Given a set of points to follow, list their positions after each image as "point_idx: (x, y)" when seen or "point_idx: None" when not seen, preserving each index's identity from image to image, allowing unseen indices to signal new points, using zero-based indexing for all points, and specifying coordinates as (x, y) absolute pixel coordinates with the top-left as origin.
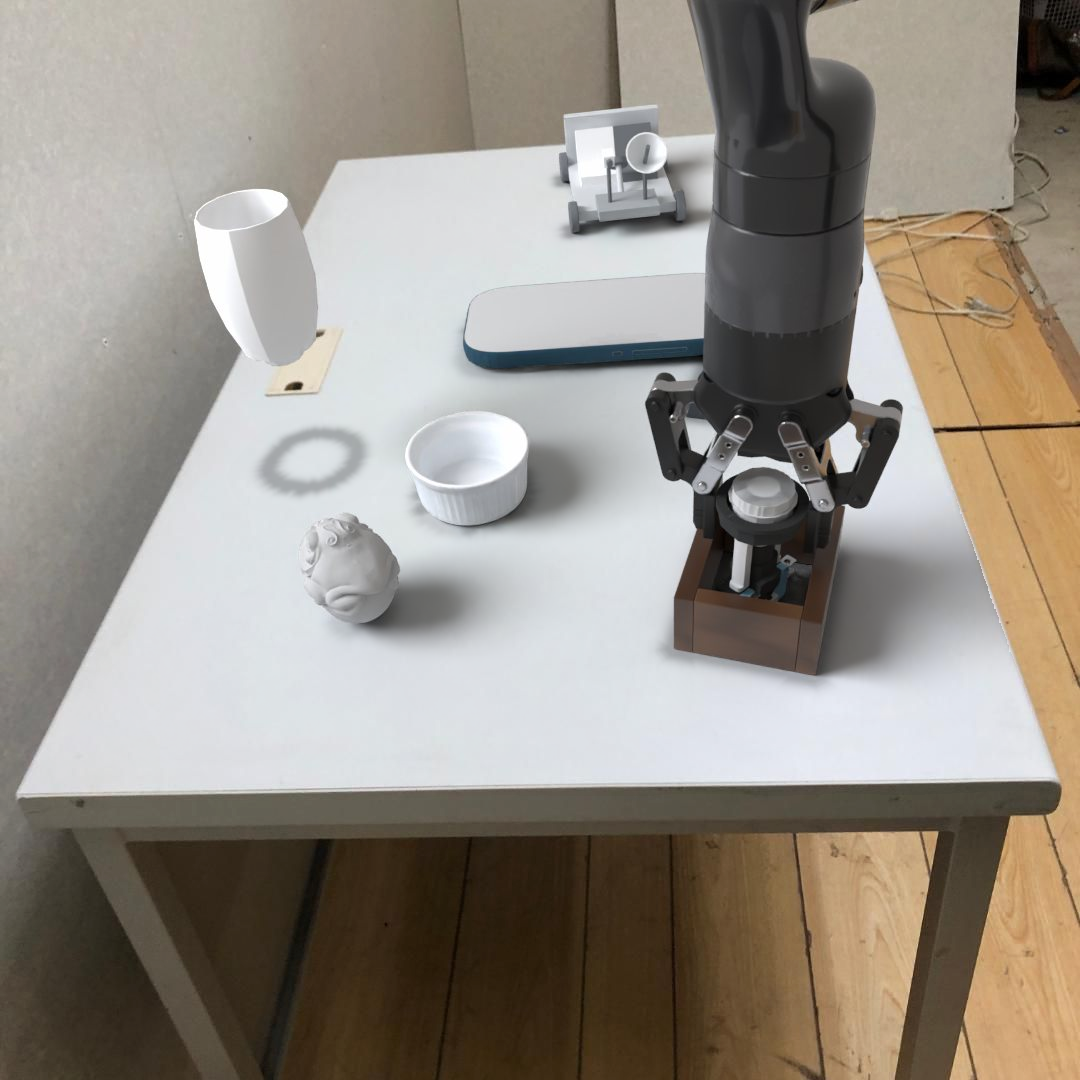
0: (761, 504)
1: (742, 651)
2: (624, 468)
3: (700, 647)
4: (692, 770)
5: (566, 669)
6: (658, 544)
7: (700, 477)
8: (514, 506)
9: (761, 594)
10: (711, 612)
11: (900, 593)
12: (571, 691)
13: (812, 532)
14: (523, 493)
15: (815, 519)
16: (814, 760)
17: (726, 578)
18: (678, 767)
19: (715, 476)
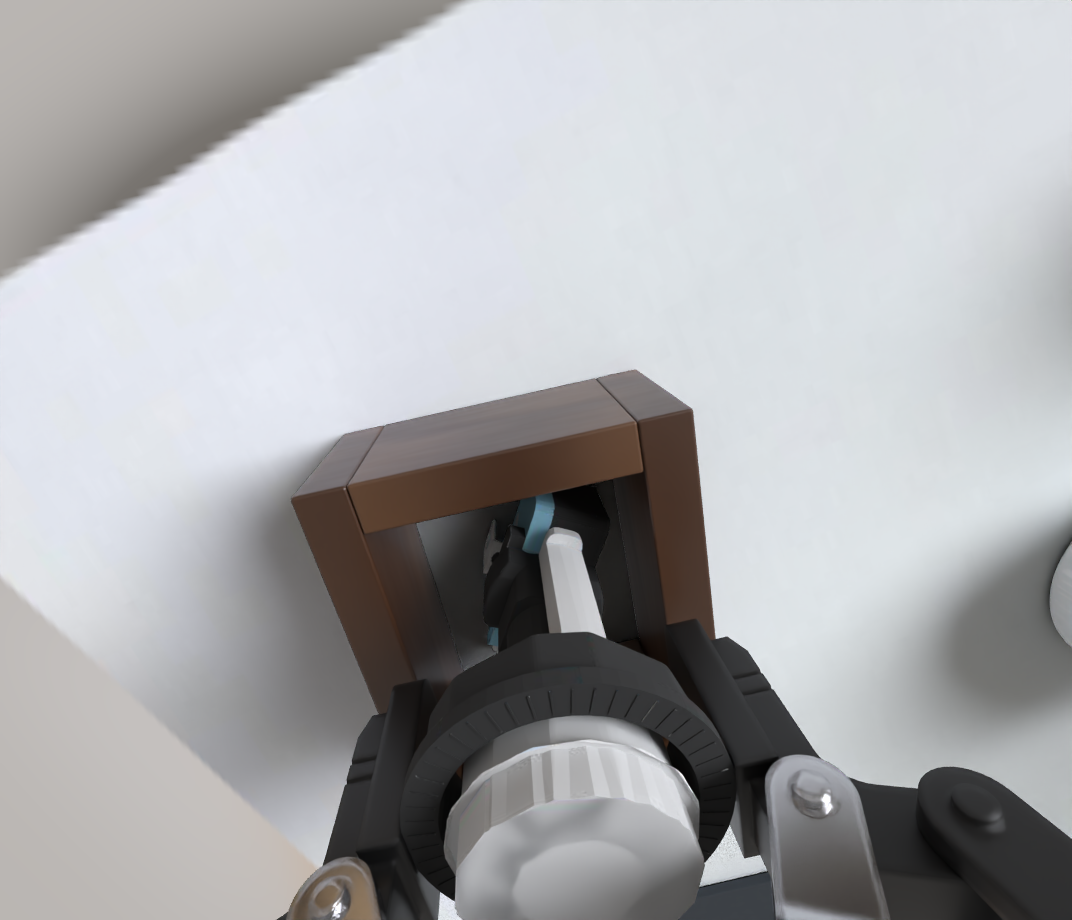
0: (548, 813)
1: (492, 408)
2: (876, 728)
3: (582, 385)
4: (457, 41)
5: (835, 204)
6: (759, 600)
7: (847, 837)
8: (1069, 563)
9: (505, 549)
10: (581, 424)
11: (302, 682)
12: (804, 144)
13: (390, 756)
14: (1063, 598)
15: (374, 811)
16: (230, 212)
17: (597, 557)
18: (490, 33)
19: (792, 871)
